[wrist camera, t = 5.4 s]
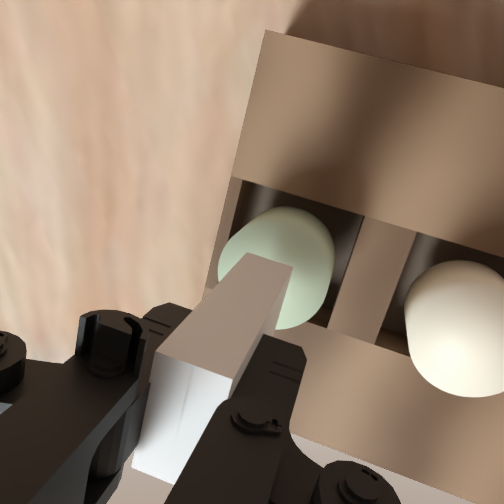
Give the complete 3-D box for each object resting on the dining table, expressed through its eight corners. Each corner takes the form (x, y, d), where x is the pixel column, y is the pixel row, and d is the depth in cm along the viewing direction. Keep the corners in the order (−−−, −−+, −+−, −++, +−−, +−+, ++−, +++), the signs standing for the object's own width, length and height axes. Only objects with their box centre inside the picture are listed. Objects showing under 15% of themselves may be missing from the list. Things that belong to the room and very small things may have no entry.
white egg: (390, 336, 20) (391, 373, 17) (424, 246, 18) (433, 270, 16) (489, 369, 19) (508, 413, 16) (533, 279, 18) (561, 310, 15)
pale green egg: (230, 282, 21) (207, 308, 18) (252, 194, 20) (231, 207, 17) (319, 312, 20) (309, 344, 17) (348, 223, 19) (343, 242, 16)
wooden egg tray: (202, 360, 26) (180, 390, 23) (280, 40, 20) (265, 29, 18) (600, 506, 22) (631, 563, 20) (814, 173, 17) (899, 185, 14)
